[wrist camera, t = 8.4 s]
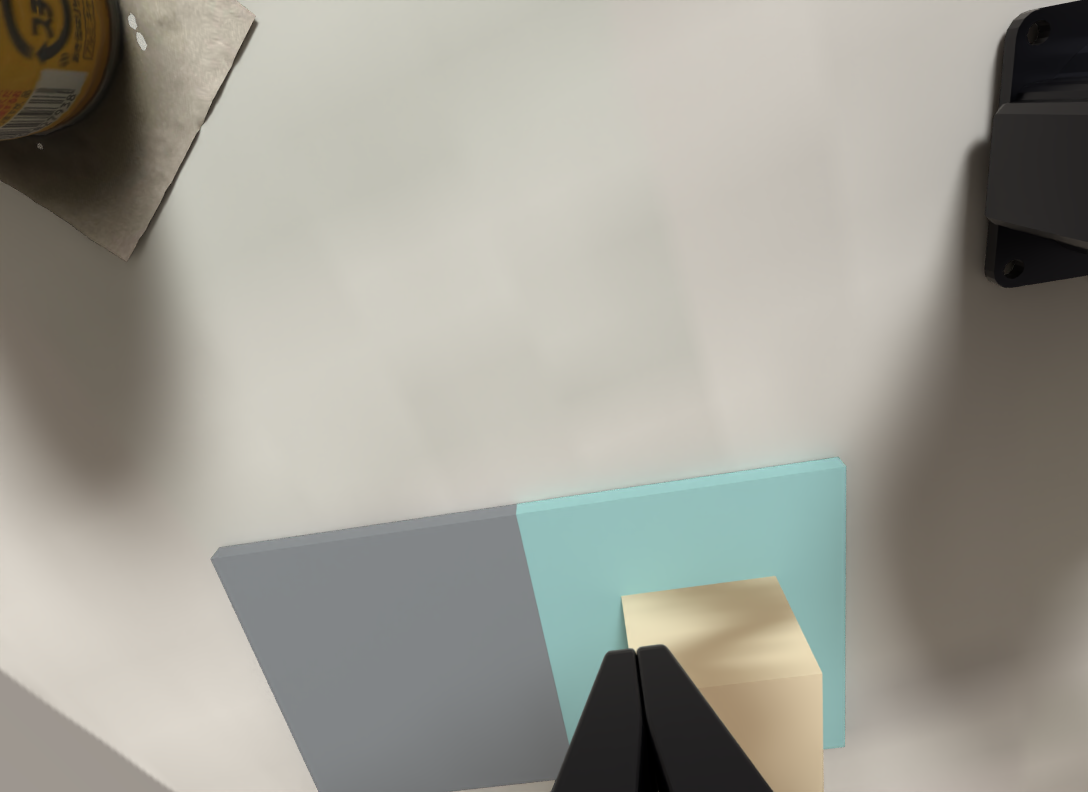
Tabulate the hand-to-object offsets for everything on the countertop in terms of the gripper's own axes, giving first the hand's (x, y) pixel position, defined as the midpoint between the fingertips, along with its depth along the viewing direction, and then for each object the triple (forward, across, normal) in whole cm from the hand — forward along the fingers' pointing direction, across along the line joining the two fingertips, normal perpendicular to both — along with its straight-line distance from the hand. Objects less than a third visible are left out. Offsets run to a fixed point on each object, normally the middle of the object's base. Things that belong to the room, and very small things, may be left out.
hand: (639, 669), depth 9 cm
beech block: (+10, -2, +10) cm, 14 cm away
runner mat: (+11, +3, +10) cm, 15 cm away
